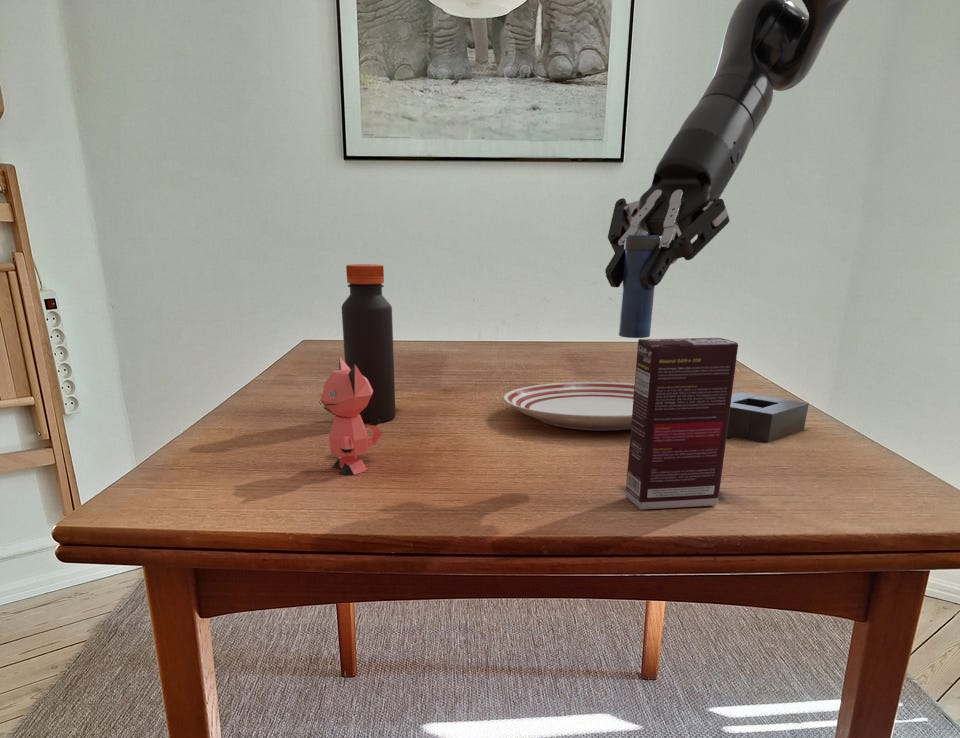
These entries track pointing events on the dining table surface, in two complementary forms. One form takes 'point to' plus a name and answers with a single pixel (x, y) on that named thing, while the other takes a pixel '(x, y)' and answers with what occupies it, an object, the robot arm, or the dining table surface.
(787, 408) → the holder
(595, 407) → the dinner plate
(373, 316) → the bottle
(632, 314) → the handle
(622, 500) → the dining table surface
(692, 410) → the supplement box
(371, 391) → the cat figurine
